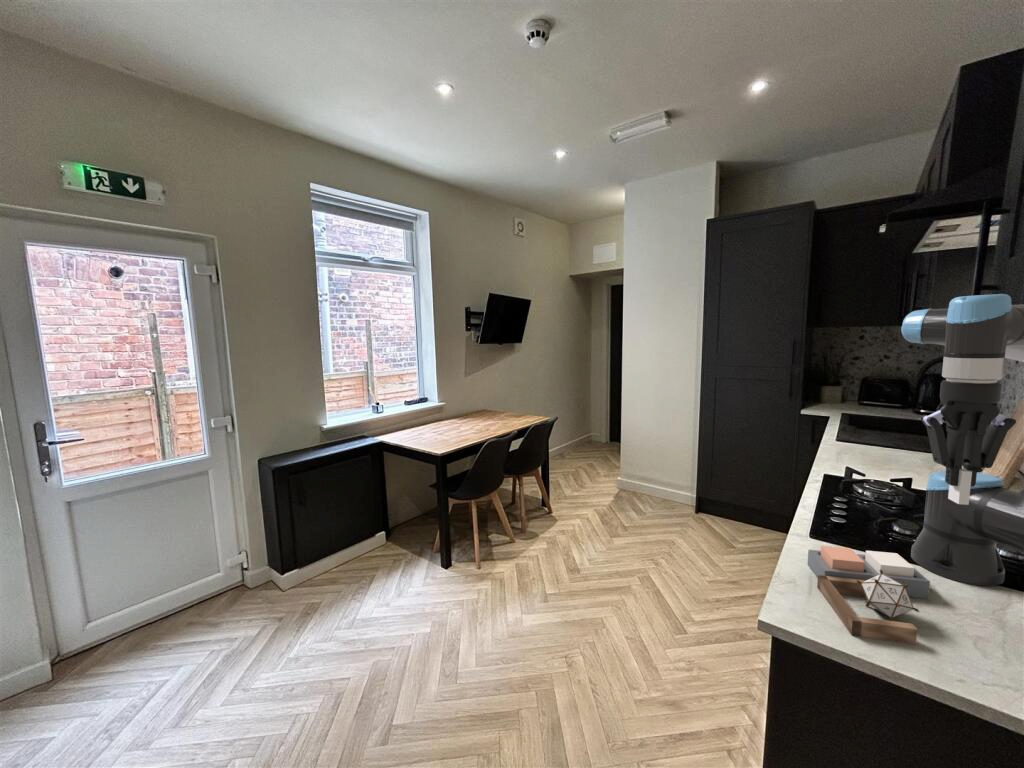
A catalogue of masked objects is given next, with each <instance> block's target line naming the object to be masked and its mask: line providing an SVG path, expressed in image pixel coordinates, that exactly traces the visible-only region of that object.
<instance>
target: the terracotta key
mask: <svg viewBox="0 0 1024 768" xmlns="http://www.w3.org/2000/svg"><path fill="white" fill-rule="evenodd" d="M820 551H821V555H820V556H821V558H822V559H823V560H824V561H825V562H826V564H827V565H828V566H829V567H830V568H831V569H838V570H848V571H857V572H864V563H865V562H864V561H863V560H862V559H861V558H860V557H859V556H858V555H857V554H858V553H856V552H855V551H854V550H853V549H852V548H850V547H840V546H839V547H838V546H829V545H828V546H827V545H820Z"/></svg>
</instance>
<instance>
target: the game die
mask: <svg viewBox="0 0 1024 768" xmlns="http://www.w3.org/2000/svg"><path fill="white" fill-rule="evenodd" d="M880 573H881V574H879V575H876V576H874V577H872V578H870V579H868V580H865V581H863V582H860V581H859V580H856V581H857V583H860V584H861V586H862V588H863V591H864V593H865V596H866V597H865V598H866V601H865V607H869V606H871V607H873V608H874V609H876V610H877V611H879V612H880V613H882V614H883V615H885V616H886V617H888V618H889V621H894V618H896V617H899V616H900V615H903V614H906V613H907V612H908V613H909V612H911V611H912V610H913V611H915V612H918V613H919V612H920V610H919V609H918V608H915V607H914V605H913V603H912V600H911V597H909V595H908V592H907V588H906V587H907V586H908V584H904V585H902V584H900V583H899V582H897V581H895V580H893V579H891V578H890V577H888V576H886V575H884V574H883V571H882V570H881V569H880Z"/></svg>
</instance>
